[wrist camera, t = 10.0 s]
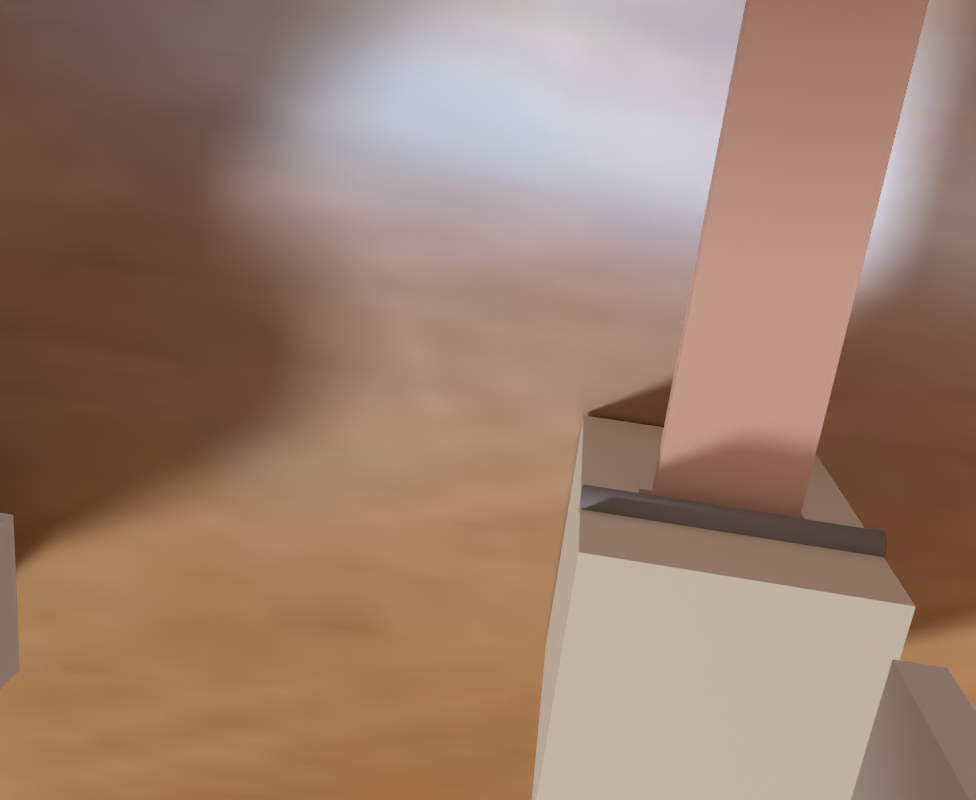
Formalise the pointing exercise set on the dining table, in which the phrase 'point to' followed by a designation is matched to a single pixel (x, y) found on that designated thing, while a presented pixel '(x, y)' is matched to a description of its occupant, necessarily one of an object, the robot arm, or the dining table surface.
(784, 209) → the ticket strip
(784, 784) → the block
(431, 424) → the dining table surface
